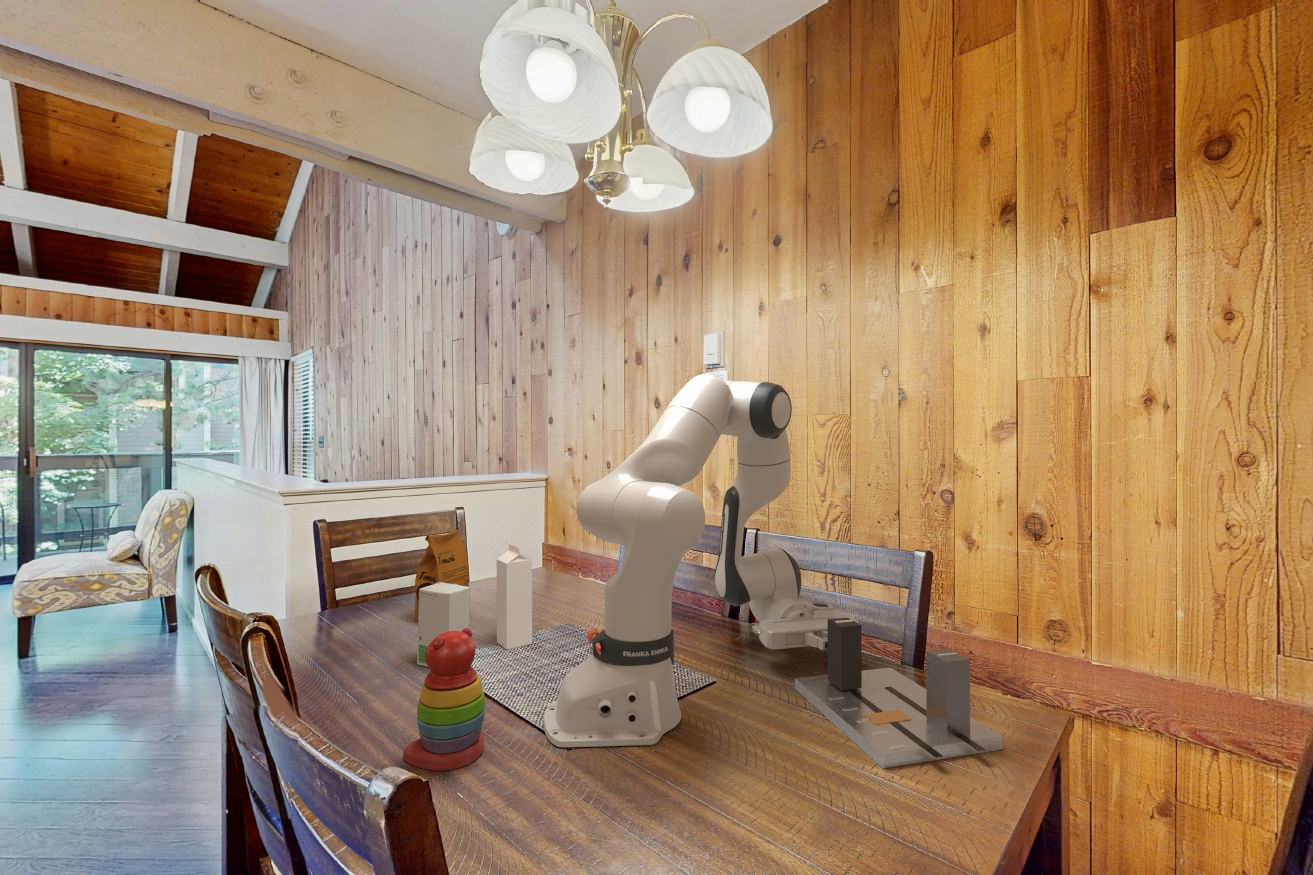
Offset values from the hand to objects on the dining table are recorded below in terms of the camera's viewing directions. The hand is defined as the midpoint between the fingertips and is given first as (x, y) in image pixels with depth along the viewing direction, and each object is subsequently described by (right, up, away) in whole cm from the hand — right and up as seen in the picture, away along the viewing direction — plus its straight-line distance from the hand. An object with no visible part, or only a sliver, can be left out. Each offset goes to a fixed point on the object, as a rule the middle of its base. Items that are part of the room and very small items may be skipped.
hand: (829, 645), depth 107 cm
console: (+6, -7, -13) cm, 16 cm away
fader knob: (+1, -5, -5) cm, 7 cm away
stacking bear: (-62, -8, -22) cm, 67 cm away
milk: (-64, -8, +23) cm, 68 cm away
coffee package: (-87, -8, +41) cm, 96 cm away
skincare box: (-76, -8, +11) cm, 77 cm away
